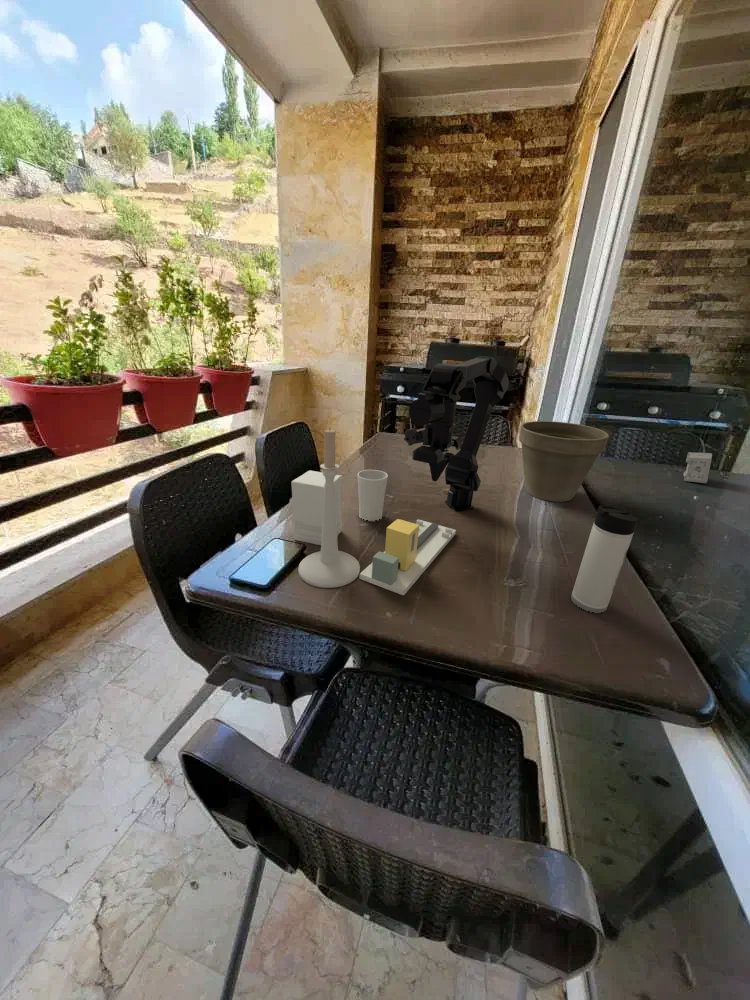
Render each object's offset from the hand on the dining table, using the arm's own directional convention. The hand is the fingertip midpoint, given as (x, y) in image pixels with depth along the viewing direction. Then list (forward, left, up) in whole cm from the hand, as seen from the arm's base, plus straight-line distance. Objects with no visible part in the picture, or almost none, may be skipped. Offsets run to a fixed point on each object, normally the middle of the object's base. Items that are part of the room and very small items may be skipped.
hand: (434, 480), depth 99 cm
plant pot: (-49, -10, -12) cm, 51 cm away
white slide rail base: (+11, +13, -12) cm, 21 cm away
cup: (+14, -8, -12) cm, 20 cm away
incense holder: (-117, -7, -12) cm, 117 cm away
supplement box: (+30, -1, -12) cm, 32 cm away
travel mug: (-14, +39, -12) cm, 43 cm away
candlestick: (+31, +14, -12) cm, 36 cm away
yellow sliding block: (+16, +17, -11) cm, 26 cm away
